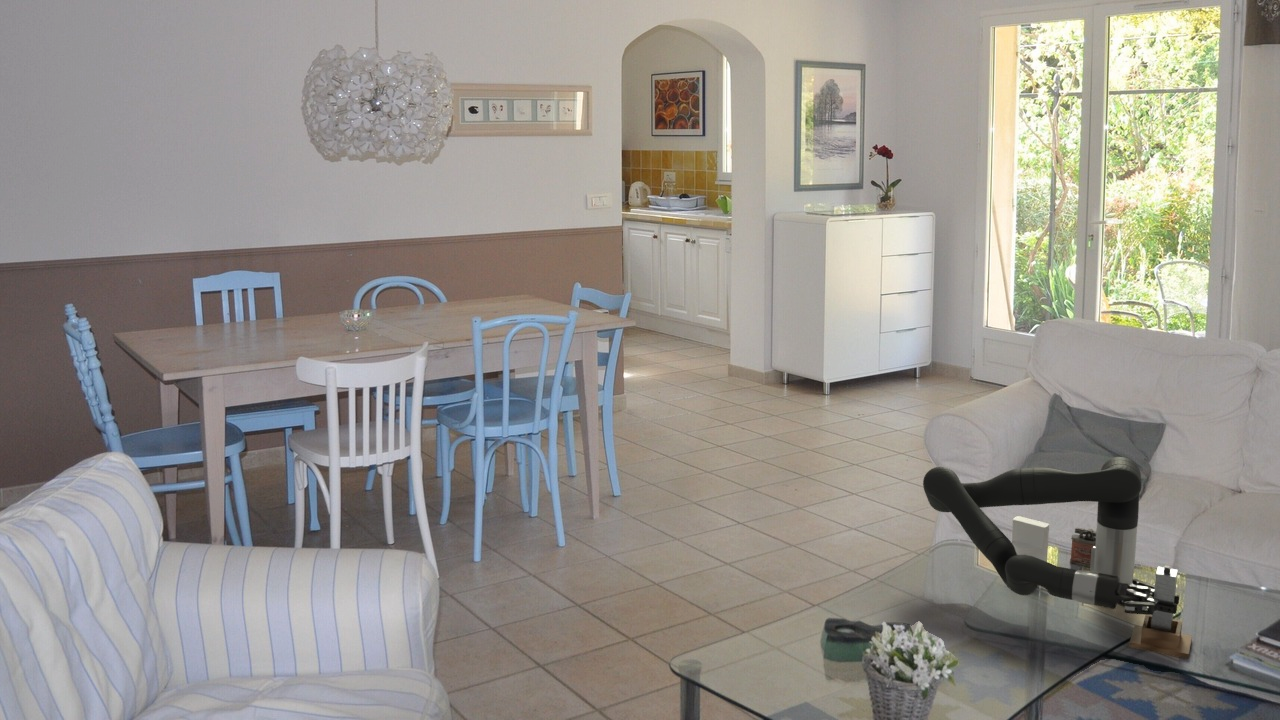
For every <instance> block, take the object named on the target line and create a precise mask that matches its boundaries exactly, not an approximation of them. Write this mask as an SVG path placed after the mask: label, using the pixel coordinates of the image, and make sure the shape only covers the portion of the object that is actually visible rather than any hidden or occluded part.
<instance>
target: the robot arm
mask: <svg viewBox="0 0 1280 720" xmlns="http://www.w3.org/2000/svg"><path fill="white" fill-rule="evenodd" d="M922 486H923V491H924V493H925V497H926V498H927V501H928V504H929V505H930V507H932V509H934V510H935V511H937V512H940V513H951V514H952V515H953V517H954V518H955V519H956V521H957V522H958V523H959V524H960V525H961V527H962V529H963V530H964V532H965V533H966V535H967V536H968V538H969V539H970V540H971V542H972V543H973V544H974V546H975V547H976V548H977V549H978V550H979V552H981V554H982V555H983V556H984V557H985V558H986V559H987V560H988V561H989V562H990V563H991V565H992V566H993V567H994V570H995V571H996V572H997V573H998V574H997V575H999V577H1000V578H1001V579H1002V581H1003V582H1004V584H1005V585H1006V587H1007V588H1008V589H1010V591H1012V592H1013V593H1014V594H1017V595H1020V596H1029V595H1032V594H1033V593H1034V592H1036V590H1037V588H1038V586H1040V587H1042V588H1044V589H1045V590H1046V591H1047V593H1048V594H1049V595H1051V596H1052V597H1056V598H1058V599H1059V598H1060V599H1065V600H1071V601H1074V602H1078V603H1081V604H1085V605H1090V606H1095V607H1101V608H1105V609H1110V610H1115V609H1117V605H1120V606H1122V607H1124V613H1126V614H1133V615H1153V612H1157V611H1162V612H1167V613H1172V614H1173V615H1174V614H1177V611H1178V605H1179V603H1180V595H1178V594H1176V593H1175V602H1174V603H1170V602H1164V601H1159V602H1158V600H1155V599H1154V590H1155V584H1153V583H1150V582H1147V581H1144V580H1140V579H1137V578H1134V574H1135V571H1134V570H1135V561H1136V551H1137V550H1136V548H1137V536H1138V535H1137V534H1138V525H1139V510H1140V509H1139V507H1140V493H1141V490H1142V474H1141V469H1140V468H1139V466H1138V465H1137V464H1136V462H1134V460H1132V459H1130V458H1127V457H1124V456H1114V457H1111V458H1110V459H1108V460H1107V461H1105V463H1104V464H1103V465H1102V466H1101V469H1100V470H1097V471H1088V472H1087V471H1086V472H1071V471H1067V470H1066V471H1064V470H1060V469H1055V468H1052V467H1051V468H1049V467H1037V466H1036V467H1023V468H1022V467H1021V468H1019V467H1018V468H1014V469H1010V470H1006V471H1005V472H1002V473H1001V474H999V475H997V476H995V477H992V478H990V479H988V480H985V481H981V482H980V481H979V482H966V483H964V482H963V483H962V482H961V480H960V478H959V477H958V475H957V474H956V472H954V470H952V469H950V468H948V467H945V466H936V467H932V468H931V469H929V470H928V471H927V472H925V475H924V476H923V480H922ZM1073 502H1075V503H1076V502H1092V503H1093V502H1094V503H1095V502H1097V513H1096V514H1097V515H1096V516H1097V517H1096V528H1095V529H1096V530H1095V531H1096V543H1095V546H1094V547H1092V551H1091V565H1090V568H1089V569H1090V570H1079V569H1075V568H1074V569H1073V568H1068V567H1062V566H1057V565H1055V564H1052V563H1051V562H1048V561H1047V562H1046V561H1043V560H1041V559H1038V558H1036V557H1033V556H1029V555H1017V553H1016V551H1015V548H1014V546H1013V544H1012V540H1010V539H1009V538H1008V537H1007V535H1006V534H1004V532H1002V530H1001V529H1000V528H999V527H998V526H997V525H996V524H995V522H993V521H992V520H991V519H990V517H988V515H987V514H986V513H985V512H984V511H983V510H982V509H983V508H992V507H993V508H994V507H1009V506H1010V507H1011V506H1033V505H1035V506H1037V505H1046V504H1048V505H1049V504H1065V503H1073Z"/></svg>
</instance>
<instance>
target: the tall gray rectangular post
mask: <svg viewBox="0 0 1280 720" xmlns="http://www.w3.org/2000/svg"><path fill="white" fill-rule="evenodd" d="M1178 573H1179V572H1178V569H1175V568H1172V567H1171V565H1166V564H1165V565H1164V566H1163V567H1162V566H1157V570H1156V572H1155V579H1154V580H1155V581H1154V585H1155V590H1154V599H1155V600H1158V602H1159V601H1164V602H1170V603H1174V602H1175V594H1176V591H1177V580H1178ZM1173 619H1174V614H1172V613H1167V612H1162V611H1157V612H1153V615H1152V621H1151V629H1154V630H1159V631H1164V632H1169V633H1171V631H1172V621H1173Z"/></svg>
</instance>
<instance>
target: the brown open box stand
mask: <svg viewBox="0 0 1280 720" xmlns="http://www.w3.org/2000/svg"><path fill="white" fill-rule="evenodd" d="M1151 621H1152V615H1146V614H1144V619H1143V623H1142V625H1140V624H1139V625H1138V624H1134V626H1133V629H1132V633H1131V636H1130V639H1129V643H1128V644H1129V645H1128V647H1129V648H1132V649H1137V650H1143V651H1147V652H1153V653H1158V654H1162V655H1167V656H1172V657H1176V658H1183V659H1187V660H1188V659H1189V657H1190V656H1189V655H1190V652H1191V645H1192V640H1193V635H1191V634H1185V633H1182V631H1183V630H1182V629H1183V627H1182V626H1183V620H1179V619H1174V618H1173V621H1172V631H1171V633H1169V632H1164V631H1159V630H1154V629H1151Z"/></svg>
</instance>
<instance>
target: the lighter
mask: <svg viewBox="0 0 1280 720" xmlns="http://www.w3.org/2000/svg"><path fill="white" fill-rule="evenodd" d="M1070 537H1071V539H1070V540H1071V550H1070V552H1071V554H1070V558H1069V563H1070V564H1071V565H1073V566H1076V567H1081V568H1084V569H1085V568H1087V569H1090V565H1091V551H1092V547H1094V546H1095V543H1096V530H1094V529H1092V528H1088V529H1085V528H1081V527H1075V528H1074V534H1071V536H1070Z"/></svg>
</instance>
